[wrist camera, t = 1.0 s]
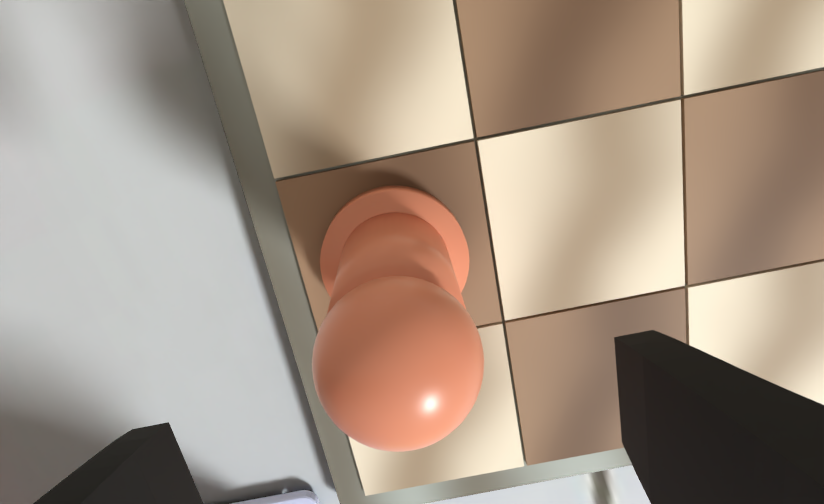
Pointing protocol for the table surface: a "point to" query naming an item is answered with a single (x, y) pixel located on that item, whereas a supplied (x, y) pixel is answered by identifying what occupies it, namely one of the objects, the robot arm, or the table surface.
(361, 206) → the pawn
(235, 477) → the table surface
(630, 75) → the board
